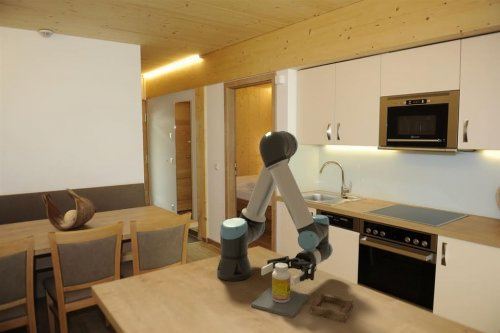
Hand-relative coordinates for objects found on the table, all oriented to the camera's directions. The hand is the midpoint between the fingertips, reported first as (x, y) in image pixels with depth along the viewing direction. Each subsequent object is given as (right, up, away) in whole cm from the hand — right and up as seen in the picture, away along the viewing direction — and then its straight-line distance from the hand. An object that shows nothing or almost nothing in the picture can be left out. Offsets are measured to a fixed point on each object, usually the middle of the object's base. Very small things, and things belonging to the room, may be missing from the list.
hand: (277, 276), depth 125 cm
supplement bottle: (+2, -9, +3) cm, 10 cm away
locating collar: (+19, -11, -3) cm, 22 cm away
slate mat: (+2, -10, +3) cm, 11 cm away
